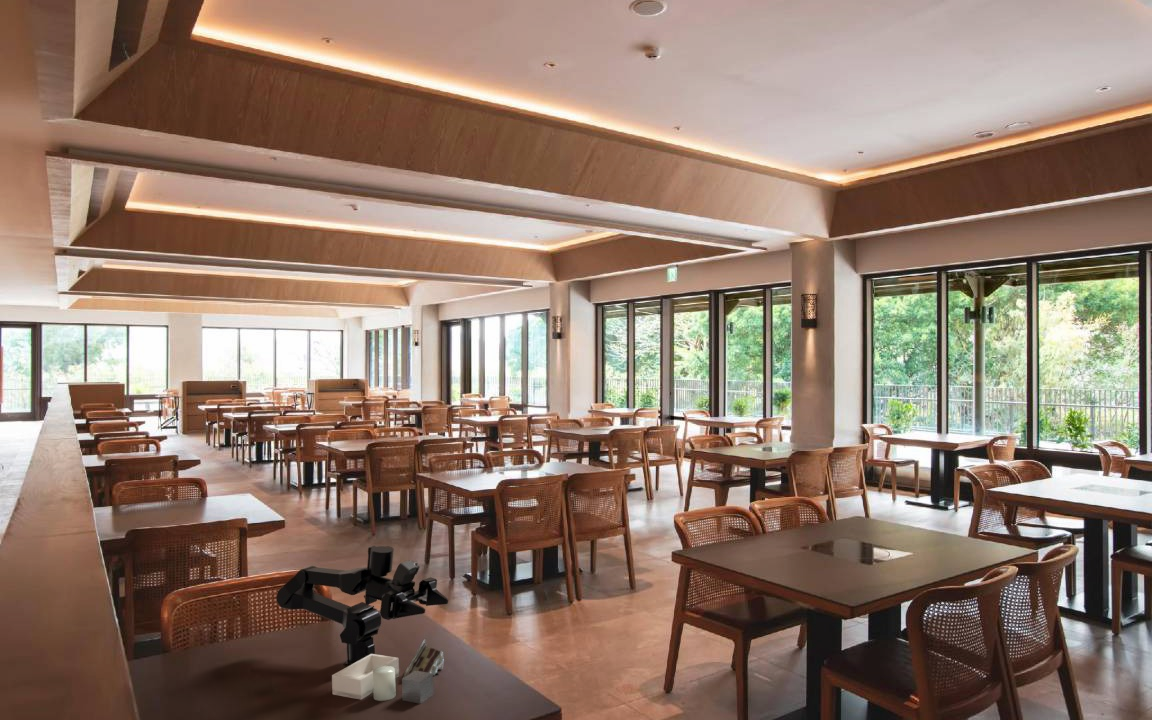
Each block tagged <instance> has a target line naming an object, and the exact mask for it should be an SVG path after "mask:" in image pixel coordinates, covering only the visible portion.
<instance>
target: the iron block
mask: <svg viewBox="0 0 1152 720" xmlns="http://www.w3.org/2000/svg"><path fill="white" fill-rule="evenodd" d="M403 677H404V676H403ZM403 677H402V678H401V691H402V692H401V693H402V701H404V702H409V703H415V704H423V703H424V702H425V701H427V700H428V699H429V698H431V697H432V696H434V676H433V673H427V672H421V671H414V672H412V673H410V674H409V675H407V676H406V677H404V678H403Z"/></svg>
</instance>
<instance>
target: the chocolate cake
mask: <svg viewBox="0 0 1152 720" xmlns="http://www.w3.org/2000/svg"><path fill="white" fill-rule="evenodd" d="M444 663H445V658H444V652H443V650H439V649H436V648H433V647H431V646H427V643H426V638H424V639H423V641H422V643H421V644H420V646H419V647H418V649H417V650H416V652H415V654H414V656H413V658H412V659H411V661H410V663H409V665H407V668H406V670H405V671H404V675H403V677H402V679H403V678H404V677H406V676H407V675H409V674H410V673H412V672H414V671H421V672H427V673H433V677H435V676H439V672H438V670H443V668H444Z"/></svg>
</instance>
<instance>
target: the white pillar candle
mask: <svg viewBox="0 0 1152 720" xmlns="http://www.w3.org/2000/svg"><path fill="white" fill-rule="evenodd" d="M396 695H397V691H396V678H395V668H394V667H392V666H383V667H379V668H376V669H374V670H373V699H374V700H375V701H378V702H383V701H389V700H392V699H394V698H395V697H396Z"/></svg>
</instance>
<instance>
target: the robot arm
mask: <svg viewBox="0 0 1152 720" xmlns="http://www.w3.org/2000/svg"><path fill="white" fill-rule="evenodd" d="M394 550H395V549H394V548H393V546H389V545H386V546H381V545H380V546H378V545H377V546H376V545H372V546H369V547H368V549H367V554H368V555H367V566H365V567H364V566H363V567H359V568H352V569H347V570H345V569H344V570H343V569H334V568H327V567H319V566H318V567H317V566H314V565H311V566H307V567H304V568H301V569H299V571H297V572H296V574H295V575H294V576H293V577H292V578H291V579H290V580H288V581H287V582H286V583H285V584H284V585H283V586H282V587H280V588H279V589H278V591H277V594H276V602H277V604H278V606H279V607H280V608H282V609H285V610H290V611H291V610H293V611H294V610H295V611H296V610H297V611H298V610H304V611H308V612H310V613H312V614H315V615H318V616H320V617H323V618H325V619H327V620H330V621H333V622H336V623H338V624H340V625H342V627H343V630H342V631H341V633H340V634H339V638H340V640H341V643H343V644H346V656H347V657H346V658H347V659H346V660H345V661H343V662H342V664H343V665H344V666H347V667H348V666H350V665H352V664H353V663H355V662H357V661H359V660H361V659H363V658H364V657H366V656H368V655H370V654H376V651H375V648H376V647H375V643H374V637H373V636H376V635H378V634H379V630H380V627H381V624H382V619H385V620H386V621H390V620H396V619H400V618H406V617H411V616H417V615H424V614H425V613H426V608H425V607H423V606H421V605H424V606H426V607H428V606H431V607H432V606H441V605H442V606H443V605H447V604H449V599H448V598H447V596H445V595H443V593H441V592H440V591H439V590H438V589H437V584H438V580H437V578H435V577H431V576H430V577H428V578H424V579H422V580H421V581H420V582H418V589H417V590H416V589H415V588H414V587H415V586H416V581H415V580H414V578H415V576H416V575H417V574H418V573H419V570H420V565H419V563H418V562H417V561H414V560H406V561H404V562H403V561H402V562H401V563H399V564H398V566H397V567H396V569H395V572H394V574H393V576H392V578H389V577H387V576H388V574H390V573H391V572H392V571H393V563H394V561H393V560H394ZM316 586H323V587H331V588H332V587H333V588H338V589H339V590H340V591H341V592H342V593H344V594H347V595H350V596H355V595H357V594H360V593H363V592H365V595H363V598H364V602H363V601H361V602H359V603H356V604H354V605H352V606H350V605H348V604H345V603H343V602H339V601H337V600H334V599H332V598H329V597H327V596H324V595H322V594H318V593H316V592H315V591H314V588H315V587H316ZM377 601H380V602H381V603H380V610H378V609H377V608H375V605H374V604H373V603H375V602H377ZM416 602H418V603H419V604H420V605H419V604H417V603H416ZM371 604H373V605H371Z"/></svg>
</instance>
